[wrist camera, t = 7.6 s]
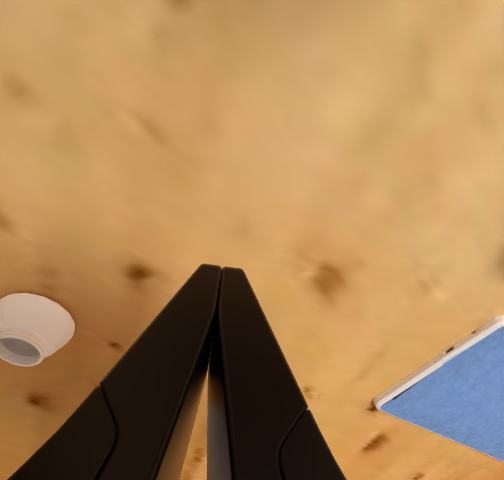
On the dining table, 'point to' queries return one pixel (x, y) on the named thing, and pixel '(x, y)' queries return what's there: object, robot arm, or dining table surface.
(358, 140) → the dining table surface
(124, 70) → the dining table surface
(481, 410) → the tablet computer
